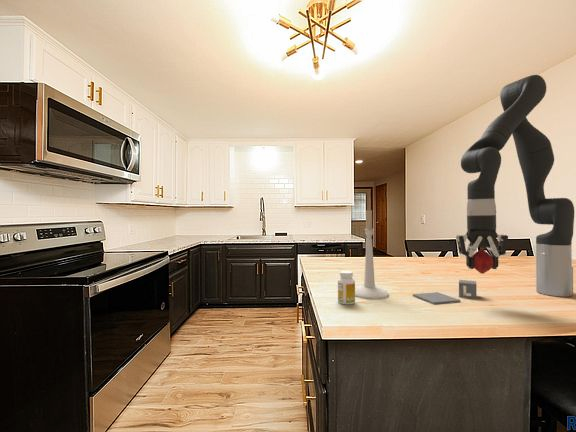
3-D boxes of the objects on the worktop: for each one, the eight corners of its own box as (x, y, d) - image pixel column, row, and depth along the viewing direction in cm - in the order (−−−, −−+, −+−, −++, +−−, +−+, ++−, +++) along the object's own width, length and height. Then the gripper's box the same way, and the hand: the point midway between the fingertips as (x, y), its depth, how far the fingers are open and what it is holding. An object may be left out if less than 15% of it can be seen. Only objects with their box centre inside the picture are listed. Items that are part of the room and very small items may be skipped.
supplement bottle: (356, 301, 96) (356, 271, 96) (353, 305, 91) (352, 274, 91) (340, 299, 98) (340, 269, 98) (335, 303, 93) (335, 272, 93)
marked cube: (459, 293, 104) (459, 279, 104) (476, 295, 101) (476, 281, 101) (458, 297, 99) (458, 282, 99) (476, 299, 97) (476, 284, 97)
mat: (437, 293, 104) (437, 292, 104) (460, 301, 94) (460, 300, 94) (412, 295, 101) (412, 294, 101) (433, 304, 92) (433, 302, 92)
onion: (497, 275, 88) (497, 248, 88) (476, 275, 89) (475, 248, 89) (488, 271, 93) (487, 246, 93) (468, 271, 95) (467, 246, 94)
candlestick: (370, 301, 95) (370, 208, 95) (343, 292, 106) (342, 209, 106) (396, 295, 102) (396, 208, 102) (368, 287, 113) (367, 209, 113)
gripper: (500, 213, 93) (501, 266, 94) (451, 214, 96) (452, 266, 96) (514, 213, 86) (515, 271, 86) (460, 214, 88) (462, 270, 89)
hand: (482, 268), depth 91 cm, fingers closed on onion, 5 cm apart
